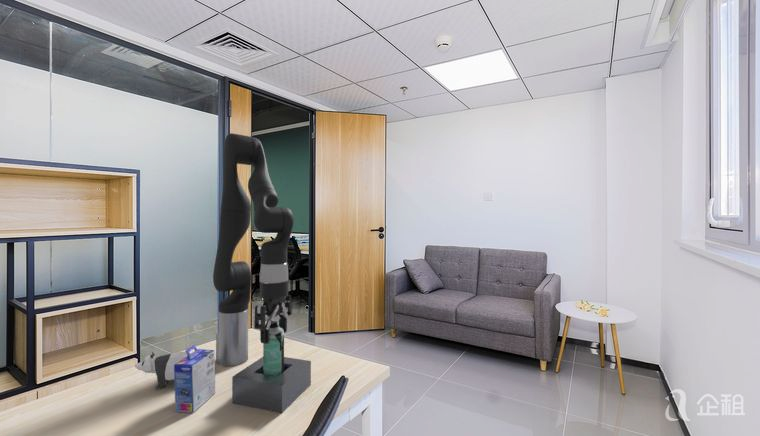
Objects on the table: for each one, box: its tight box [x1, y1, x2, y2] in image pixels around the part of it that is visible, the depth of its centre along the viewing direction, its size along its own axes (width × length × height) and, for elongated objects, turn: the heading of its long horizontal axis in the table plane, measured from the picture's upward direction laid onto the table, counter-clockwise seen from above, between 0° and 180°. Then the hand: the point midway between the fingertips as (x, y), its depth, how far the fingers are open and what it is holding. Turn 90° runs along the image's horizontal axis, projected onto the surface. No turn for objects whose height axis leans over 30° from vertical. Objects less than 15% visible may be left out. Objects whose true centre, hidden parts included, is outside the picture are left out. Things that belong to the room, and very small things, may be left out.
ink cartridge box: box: [174, 344, 216, 414], centre depth 91 cm, size 10×6×14 cm, turn 174°
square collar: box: [231, 356, 312, 414], centre depth 96 cm, size 15×15×7 cm
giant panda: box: [134, 351, 191, 390], centre depth 100 cm, size 15×6×10 cm, turn 111°
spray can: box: [262, 320, 285, 377], centre depth 96 cm, size 6×6×20 cm
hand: (274, 337), depth 96 cm, fingers open, 8 cm apart
